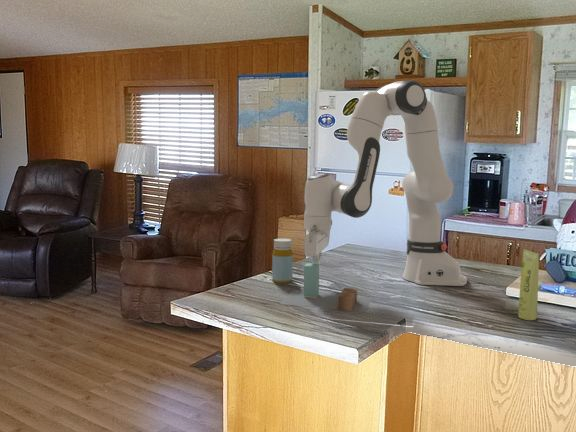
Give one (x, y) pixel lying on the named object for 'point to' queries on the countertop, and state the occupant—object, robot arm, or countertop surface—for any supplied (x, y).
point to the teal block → (311, 280)
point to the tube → (529, 286)
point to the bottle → (282, 261)
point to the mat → (323, 301)
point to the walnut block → (347, 299)
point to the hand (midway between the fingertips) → (316, 265)
